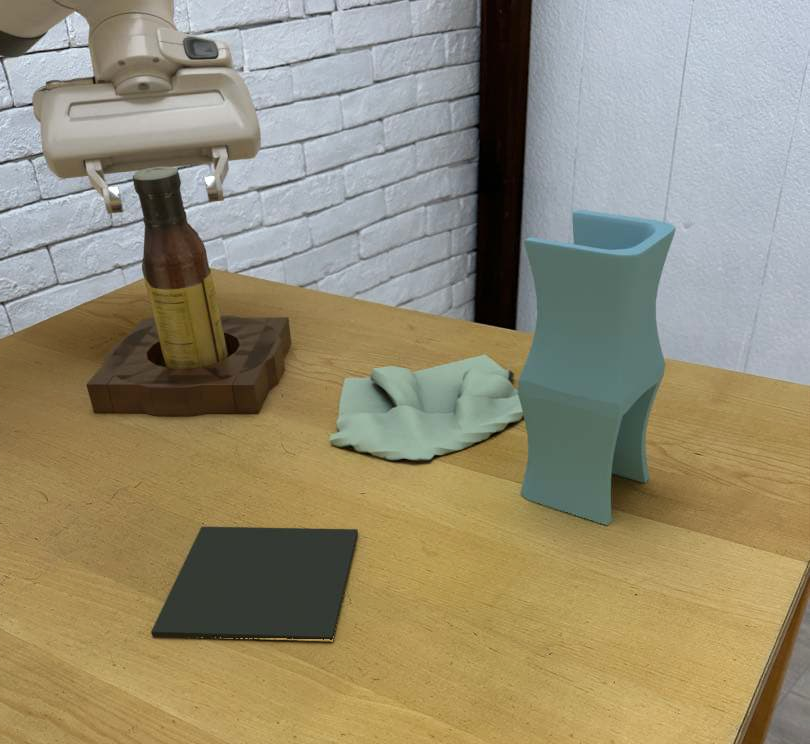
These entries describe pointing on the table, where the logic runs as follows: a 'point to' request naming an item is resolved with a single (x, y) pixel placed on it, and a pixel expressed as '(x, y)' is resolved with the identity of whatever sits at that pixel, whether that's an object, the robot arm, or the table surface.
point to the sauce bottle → (177, 275)
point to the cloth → (426, 409)
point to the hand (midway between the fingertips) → (165, 204)
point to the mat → (259, 584)
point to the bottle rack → (193, 372)
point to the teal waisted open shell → (592, 360)
